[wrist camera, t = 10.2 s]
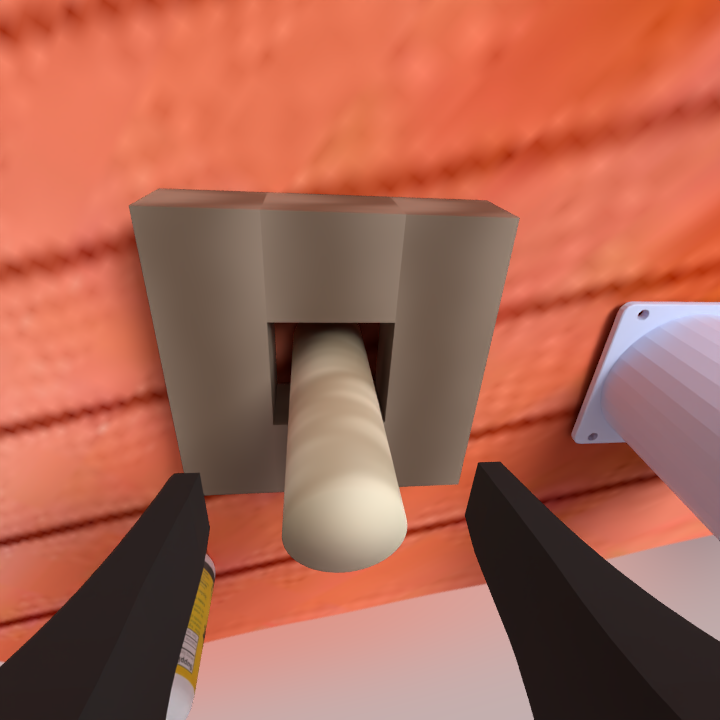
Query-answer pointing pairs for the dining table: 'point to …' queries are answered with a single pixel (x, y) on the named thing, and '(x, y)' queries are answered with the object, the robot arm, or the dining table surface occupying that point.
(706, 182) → the dining table surface
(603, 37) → the dining table surface
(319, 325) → the beech peg
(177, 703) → the supplement bottle
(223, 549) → the dining table surface
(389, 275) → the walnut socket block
